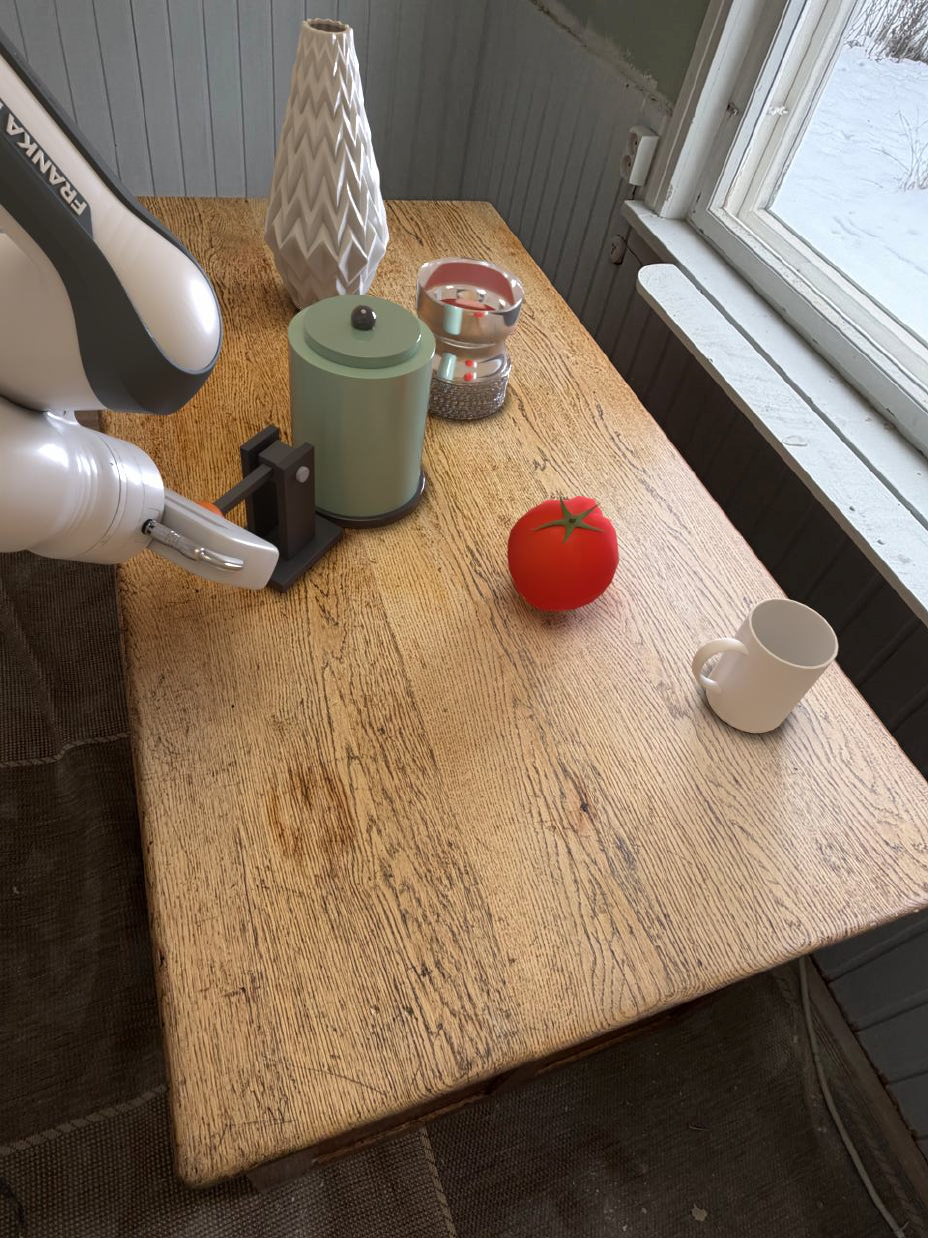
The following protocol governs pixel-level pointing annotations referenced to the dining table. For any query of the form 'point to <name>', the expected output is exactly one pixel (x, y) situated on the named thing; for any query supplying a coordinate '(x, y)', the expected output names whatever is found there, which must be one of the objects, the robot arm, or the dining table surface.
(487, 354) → the silver candle holder
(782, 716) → the mug
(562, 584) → the tomato
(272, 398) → the dining table surface
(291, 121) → the vase
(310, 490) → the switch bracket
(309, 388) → the green canister
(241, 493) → the switch
